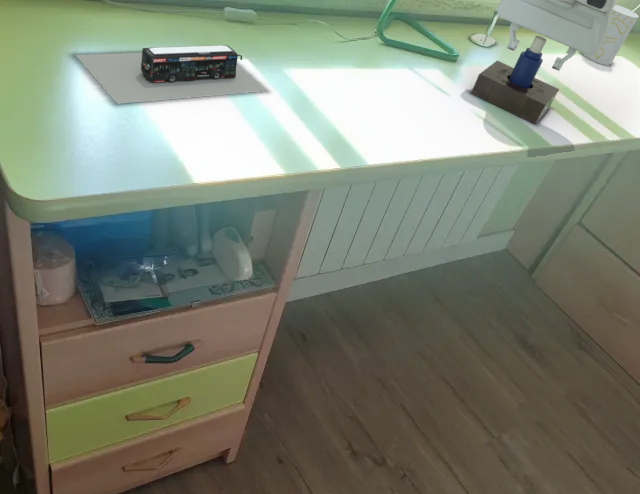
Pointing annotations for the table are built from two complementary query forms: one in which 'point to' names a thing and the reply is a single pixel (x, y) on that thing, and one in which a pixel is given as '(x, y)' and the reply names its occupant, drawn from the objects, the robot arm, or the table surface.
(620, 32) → the cup
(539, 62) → the bottle
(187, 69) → the toy bus on base
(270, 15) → the table surface
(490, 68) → the block
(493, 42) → the stand
